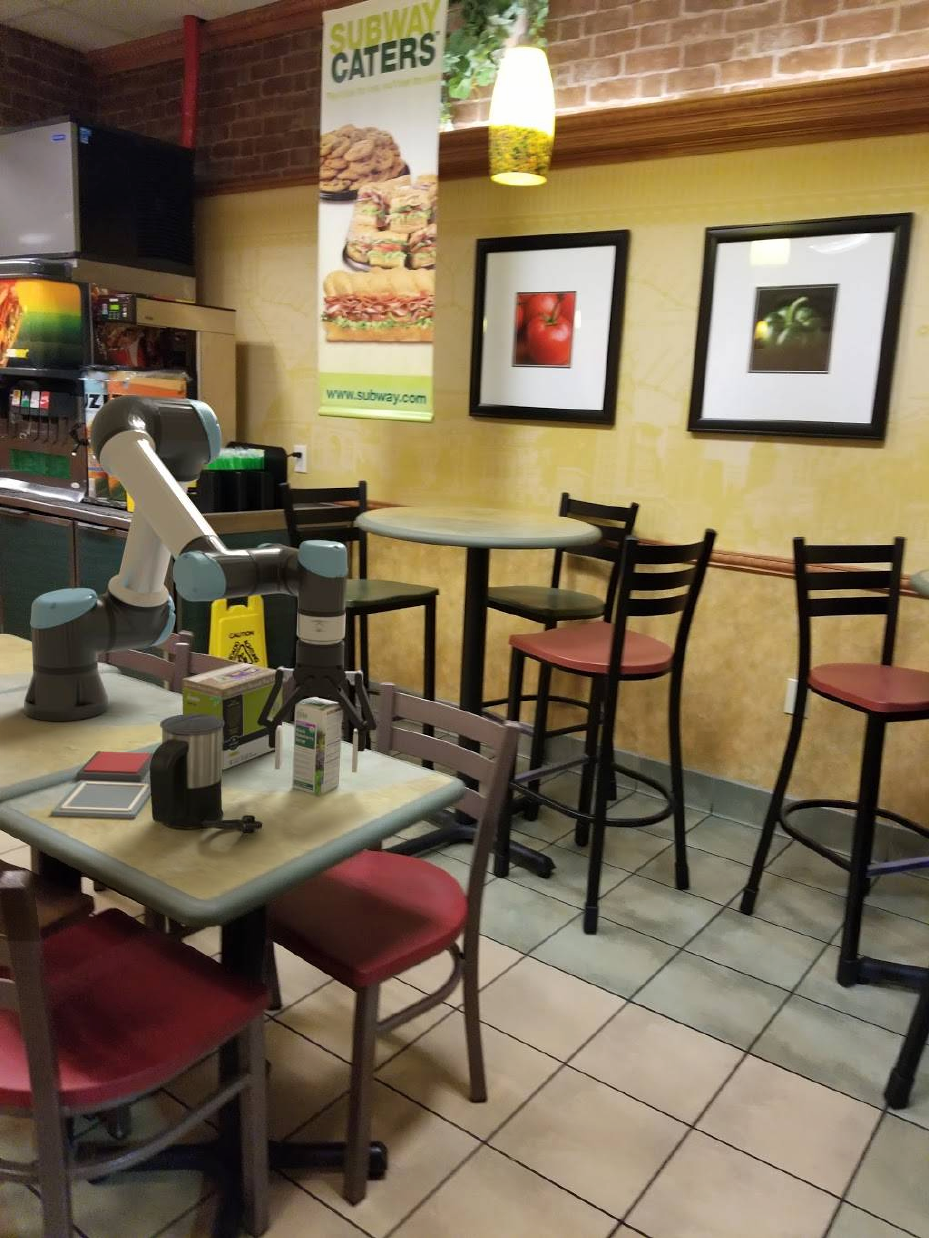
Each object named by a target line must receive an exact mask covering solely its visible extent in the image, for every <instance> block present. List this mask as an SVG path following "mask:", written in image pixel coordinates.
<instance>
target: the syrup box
mask: <svg viewBox="0 0 929 1238" xmlns="http://www.w3.org/2000/svg"><path fill="white" fill-rule="evenodd" d="M342 720H343V709H342V708H341V706H340V705H339V703H338V702H337V701H333V700H329V699H324V698H319V696H314V697H309V698H305V699H302V700H300V701H298V702H297V703H296V704H295V705H294V721H293V722H294V725H293V726H294V727H293V728H294V729H293V732H294V733H293V734H294V735H293V758H292V759H293V761H292V762H293V763H292V785H291V787H292V789H294V790H295V789H296V790H299V791H303V792H306V793H309V794H313V795H316V796H322V795H323V794H325V793H327V792H329V791H330V790H332V789H334V788H336V787H338V786H339V785H340V772H341V771H340V769H341V750H342V743H341V741H342V726H343V725H342V724H343V723H342V722H343V721H342Z"/></svg>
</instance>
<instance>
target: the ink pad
mask: <svg viewBox="0 0 929 1238" xmlns="http://www.w3.org/2000/svg"><path fill="white" fill-rule="evenodd" d="M153 754H154V752H153V753H149V752H126V751H125V752H124V751H121V752H120V751H101V750H98V751H96V752H95V753H94V754H93V756H91V758H90V759H88V761H86V762H85V764H84V765H83V766H82V767H81V768H80V769H79V770H78V771H77V772H76V781H80V780H84V781H111V782H137V783H142V782H143V780H144V778H145V777H146V776H147V775H148V773H150V764H151V759H152V757H153Z"/></svg>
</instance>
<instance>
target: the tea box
mask: <svg viewBox="0 0 929 1238" xmlns="http://www.w3.org/2000/svg"><path fill="white" fill-rule="evenodd" d="M276 671H277V669H273V668H269V667H265V666H260V665H255V664H252V663H246V662H244V661H242V662H238V663H235V664H231V665H227V666H225V667H219V668H217V669H213V670H209V671H206V672H202V673H199V674H196V675H192V676H189V677H184V678H182V682H181V684H182V685H181V688H182V690H181V692H182V696H181V697H182V715H183V714H205V715H212V716H216V717H219V718H221V719H222V720H223V721H224V723H225V724H224V726H223V727H222V771H224V770H227V769H229V768H231V767H235V766H237V765H239V764H242V763H244V762H246V761H249V760H252V759H254V758H257V757H259V756H262V755H265V754H267V753H270V752H271V751H272V752H273V751H275V748H270V747H269V729H268V728H267V727H265V726H260V725H258V723H257V721H258V719H259V717H260V714H261V712H262V710H263V708H264V706H265V704H266V701H267V699H268V697H269V695H270V693H271V690H272V688H273V686H274V684H275V673H276ZM282 706H283V686H282V687H281V689H280V692H279V694H278V696H277V698H276V700H275V702H274V705H273V707H272V709H271V711H270V713H269V715H268V717H270V718H273V717H274V716H275V715H276V713H277V712H278V711H279V710H280V709H281V707H282ZM278 726H283V720H282V721H281V722H280V724H279V725H278Z"/></svg>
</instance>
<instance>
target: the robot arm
mask: <svg viewBox="0 0 929 1238" xmlns="http://www.w3.org/2000/svg"><path fill="white" fill-rule="evenodd" d="M219 423H220V422H219V420H218V417H217V415H216V413H215V412H214V411H213V409H212V408H211V406H209V404H207V403H206V402H204V401H201V400H197V399H196V400H195V399H189V398H187V397H181V398H179V397H178V398H177V397H164V396H163V397H161V396H149V395H137V394H124V395H121V396H116V397H115V398H111V399H110V400H108V401H107V402H106V403H104V404H103V405H101V407H100V408H99V409H98V411H97V412H96V413H95V415H94V417H93V419H92V421H91V426H90V428H89V429H90V430H89V442H90V447H91V451H92V454H93V456H94V457H95V460H96V461H97V463H98V464H99V466H100V467H101V469H103V471H104V472H105V473H106V474H107V475H109V476H111V477H113V478H116V479H117V480H118V481H119V483H120V485H122V487H123V489H124V490H125V491H126V493H127V494H128V495H129V497H130V498H131V500H132V501H133V503H134V507H133V509H132V510H133V511H132V515H131V519H130V524H129V528H128V532H127V533H128V534H127V538H126V540H125V541H126V542H125V548H124V551H123V555H122V560H121V564H120V569H119V572H118V574H116V575H114V576H113V577H111V578H110V580H108V581H109V582H108V585H107V588H106V592H105V593H104V594H97V593H96V591H95V590H94V589H91V588H86V587H76V588H62V589H57V590H54V591H53V590H52V591H49V592H45V593H43V594H41V595H39V596H38V597H36V598H35V599H34V601H32V603H31V610H30V611H31V613H30V621H29V624H30V627H31V629H30V630H31V648H32V649H31V650H32V676H31V679H30V683H29V684H28V688H27V691H26V694H25V697H24V700H23V710H24V714H25V713H26V714H27V715H28V717H29V716H30V717H29V718H31V717H33V718H32V719H34V718H36V719H35V720H39V719H40V721H47V722H67V721H71V722H72V721H78V720H84V719H85V720H86V719H89V718H93V717H97V716H99V715H101V714H103V713H104V712H106V711H107V710H108V709H109V695H108V693H107V690H106V688H105V686H104V682H103V680H102V678H101V674H100V672H99V663H98V662H99V660H98V659H99V655H101V654H106V653H114V652H122V651H127V650H128V651H129V650H137V649H139V650H140V649H146V648H150V647H153V646H157V645H160V644H163V643H164V642H166V640H168V638H169V637H170V635H171V634H172V632H173V630H174V626H175V622H176V614H175V613H174V611H175V610H176V608H175V603H174V600H173V598H172V596H171V595H170V592H169V590H168V588H167V587H166V585H165V584H164V583H165V580H166V575H167V572H168V568H169V564H170V559H171V556H172V557H173V558H174V560H175V561H174V564H173V568H172V578H173V579H172V580H173V582H174V583H175V589H176V591H177V593H178V594H179V596H180V597H182V598H183V599H184V600H186V601H189V602H214V601H218V600H220V601H221V600H226V599H233V598H234V599H235V598H242V597H253V596H260V595H261V596H263V595H271V594H273V595H274V594H286V595H290V596H293V597H297V613H296V614H297V617H296V618H297V619H296V621H297V622H296V623H297V624H296V636H297V637H298V639H297V640H296V650H295V651H296V652H295V653H296V655H295V658H296V660H295V667H294V668H286V667H285V666H283V665H279V666H278V667H277V669H276V670H277V671H276V673H275V684H274V686H273V688H272V690H271V693H270V695H269V697H268V699H267V701H266V704H265V706H264V708H263V710H262V712H261V714H260V717H259V719H258V721H257V723H258V725H260V726H265V727H267V728H268V729H269V747H270V748H275V750H274V770H280V769H281V766H282V763H283V725H282V726H278V725H279V724H280V722H281V721H282V722H283V720H284V718H285V717H287V715H288V714H289V713H290V712H291V711H292V709H293V708H295V704H296V703H298V702H299V700H300V701H301V698H302V697H303V696H304V695H306V696H308V697H310V698H313V697H322V698H329V697H330V696H331V697H332V698H333V699H334V700H335V702H338V703H339V705H340V706H341V708H342V712H344V714H345V715H346V716H347V718H348V720H349V721H350V722H351V723H352V725H353V726H354V729H353V735H352V762H351V763H352V764H351V773H357V772H358V764H359V763H358V761H359V752H360V753H361V752H362V753H363V752H364V751H365V748H366V739H367V738H366V735H367V733H368V732H370V731H375V730H376V729H377V728H378V719H377V717H376V714H375V712H374V709H373V706H372V703H371V701H370V698H369V695H368V693H367V690H366V687H365V686H364V685H365V684H364V672H363V670H362V669H356V670H355V671H346V669H345V641H344V640H343V639H344V638H345V635H346V617H347V616H346V615H347V614H346V608H347V604H346V603H347V586H348V585H347V583H348V574H349V573H348V572H349V568H348V551H347V550H348V548H347V547H346V545H344V543H341V542H337V541H330V540H321V539H319V540H318V539H314V540H304V541H303V542H301V543H300V544H299V548H295V547H290V546H286V545H284V544H282V543H268V542H267V543H262V544H259V545H258V546H257V547H254V548H253V547H252V548H251V547H250V548H238V549H237V548H235V549H230V548H227V546H226V545H225V543H224V542H223V541H222V540H221V539H220V538H219V536H218V535H217V533H216V532H215V531H214V529H213V528H212V527H211V525H210V524H209V523H208V521H207V520H206V518H204V516H203V514H201V512H200V511H199V510H198V508H197V507H196V505H195V504H194V503H193V501H192V500H191V499H190V498H189V496H188V495H187V494H188V489H189V486H190V484H192V483H194V482H197V480H199V479H200V475H201V472H202V468H203V465H210V464H213V463H214V462H215V461H217V459H218V458H219V457H220V453H221V449H222V432H221V427H220V424H219ZM291 677H293V679H294V680H295V682H296V683H297V685H298V686H297V688H296V689H295V690H294V692H293V693H291V695H290V696H289V698H288V699H287V700H286V701H285V702H284V704H282V707H281V709H280V710H279V711H278V712H277V713H276V715H275V716H274V717H273V718H270V717H268V715H269V713H270V711H271V709H272V707H273V705H274V702H275V700H276V698H277V696H278V694H279V692H280V689H281V687H282V688H283V684H284V683H287V682H288V681H289V679H290V678H291ZM345 680H348V681H349V684H350V685H351V686H354V690H355V693H356V696H357V698H358V701H359V705H360V707H361V709H362V712H363V714H364V717H365V720H366V721H364V719H363V718H362V716H361V715H360V713H359V712H358V711H357V709H356V708H355V706H354V705H353V703H352V702H351V701H350V699H349V698H348V696H347V694H346V693H345V691H344V689H343V688H342V684H343V683H344V682H345ZM26 714H25V715H26ZM27 715H26V716H27Z"/></svg>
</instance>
